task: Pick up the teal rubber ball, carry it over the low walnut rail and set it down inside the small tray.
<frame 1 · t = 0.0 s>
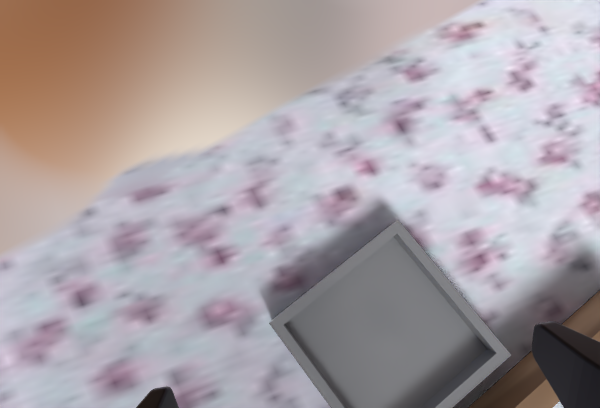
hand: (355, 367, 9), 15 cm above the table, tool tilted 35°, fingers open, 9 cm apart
tray: (382, 334, 23), on the table
rail: (501, 392, 23), on the table
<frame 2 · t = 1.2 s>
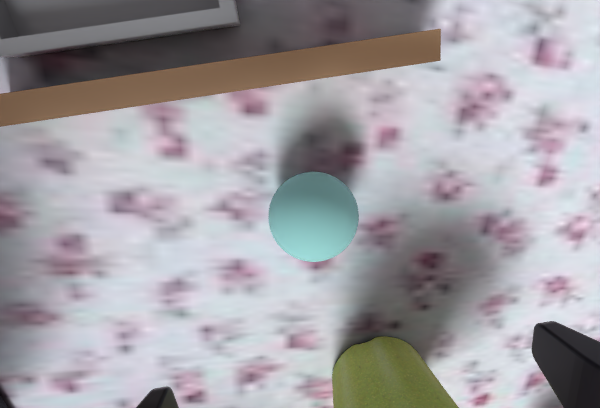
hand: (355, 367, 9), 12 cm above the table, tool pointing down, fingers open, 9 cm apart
plant pot: (375, 367, 25), on the table
ball: (308, 200, 20), on the table
rail: (217, 76, 18), on the table
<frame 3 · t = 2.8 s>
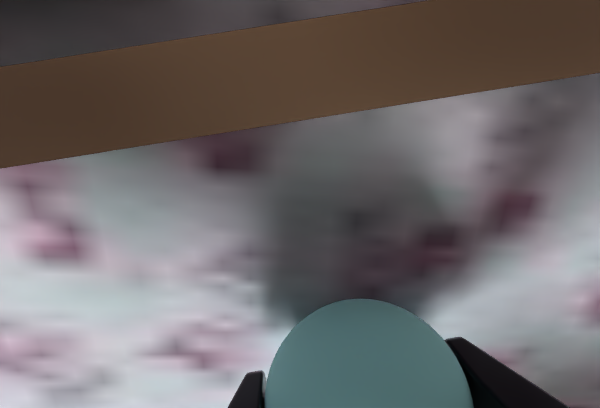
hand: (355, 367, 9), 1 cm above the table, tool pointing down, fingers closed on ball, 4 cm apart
ball: (345, 332, 10), on the table, touching gripper
rail: (141, 89, 8), on the table
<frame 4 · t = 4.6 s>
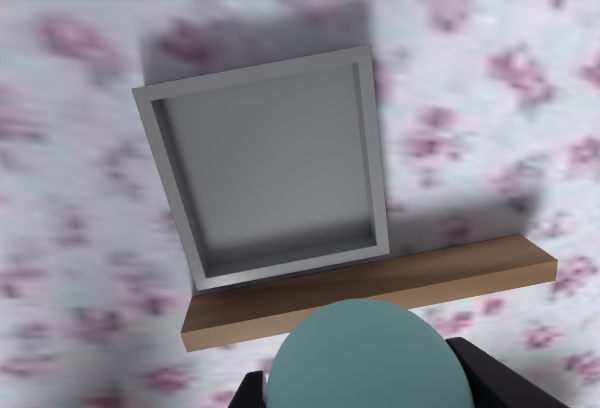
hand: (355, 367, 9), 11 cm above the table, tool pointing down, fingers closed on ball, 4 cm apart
tray: (274, 170, 19), on the table
ball: (346, 332, 10), point 10 cm above the table, touching gripper
rail: (357, 274, 21), on the table
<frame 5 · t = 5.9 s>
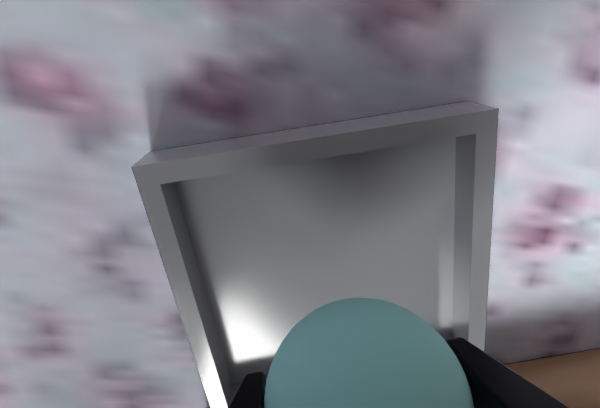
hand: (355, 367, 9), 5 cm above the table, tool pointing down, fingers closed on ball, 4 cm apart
tray: (328, 263, 13), on the table
ball: (345, 331, 10), point 4 cm above the table, touching gripper
rail: (425, 388, 16), on the table
when the fingers open (3 cm above the table, at t = 6.6 s): ball drops 1 cm, resting on tray.
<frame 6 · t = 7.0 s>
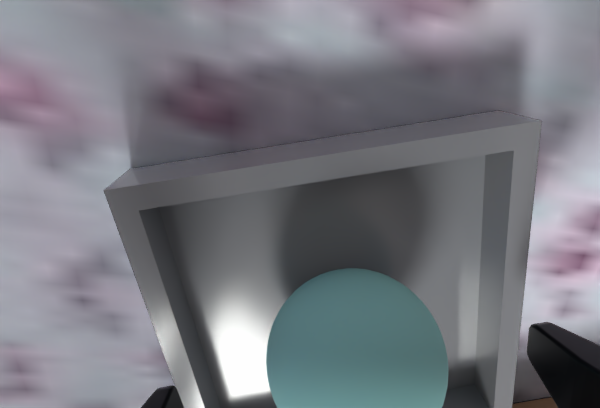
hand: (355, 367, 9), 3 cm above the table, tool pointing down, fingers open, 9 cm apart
tray: (335, 293, 12), on the table
ball: (338, 303, 11), resting on tray
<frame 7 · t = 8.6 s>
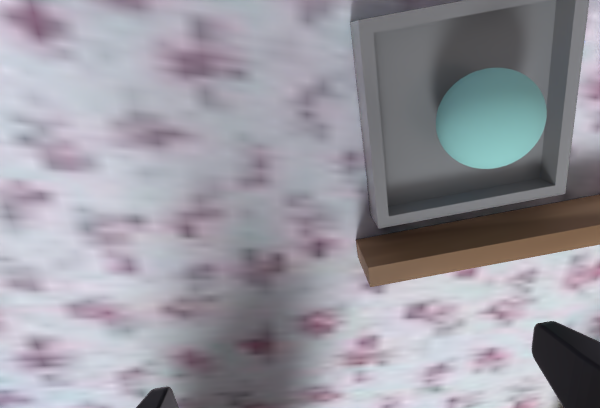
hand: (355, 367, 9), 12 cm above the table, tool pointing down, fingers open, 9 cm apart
tray: (456, 111, 19), on the table
ball: (461, 112, 19), point 1 cm above the table, touching tray
rail: (515, 219, 22), on the table
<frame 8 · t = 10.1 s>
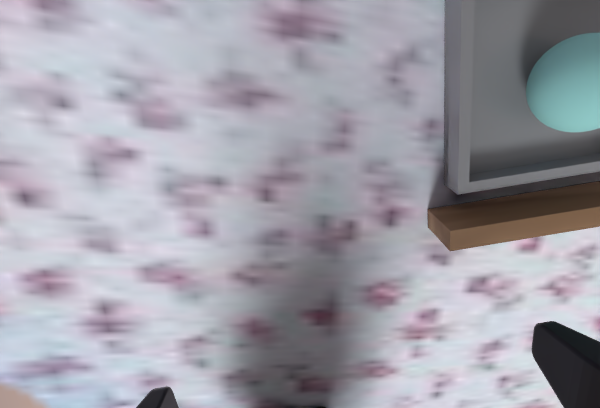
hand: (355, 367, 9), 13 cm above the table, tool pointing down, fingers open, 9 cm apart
tray: (536, 81, 20), on the table
ball: (542, 82, 19), point 1 cm above the table, tilted 8°, touching tray
rail: (581, 193, 23), on the table
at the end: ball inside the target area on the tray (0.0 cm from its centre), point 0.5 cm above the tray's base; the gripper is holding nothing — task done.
